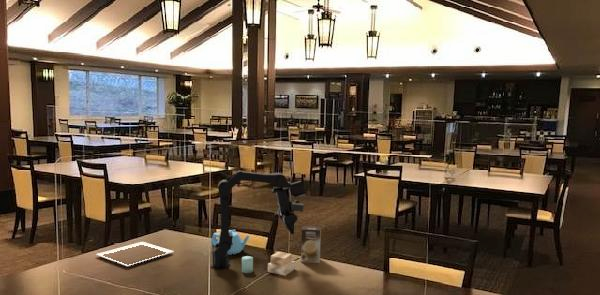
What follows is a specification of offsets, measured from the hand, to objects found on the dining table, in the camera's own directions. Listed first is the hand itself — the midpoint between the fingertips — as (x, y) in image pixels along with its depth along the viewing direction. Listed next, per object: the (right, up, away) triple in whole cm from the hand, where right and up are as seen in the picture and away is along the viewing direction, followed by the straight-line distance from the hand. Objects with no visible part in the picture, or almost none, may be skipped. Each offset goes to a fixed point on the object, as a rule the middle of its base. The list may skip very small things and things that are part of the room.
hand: (290, 231), depth 210 cm
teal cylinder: (-19, -16, -10) cm, 27 cm away
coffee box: (+10, -15, +5) cm, 19 cm away
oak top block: (-4, -12, -9) cm, 16 cm away
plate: (-76, -14, +9) cm, 78 cm away
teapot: (-31, -13, +18) cm, 38 cm away
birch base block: (-4, -16, -8) cm, 19 cm away
